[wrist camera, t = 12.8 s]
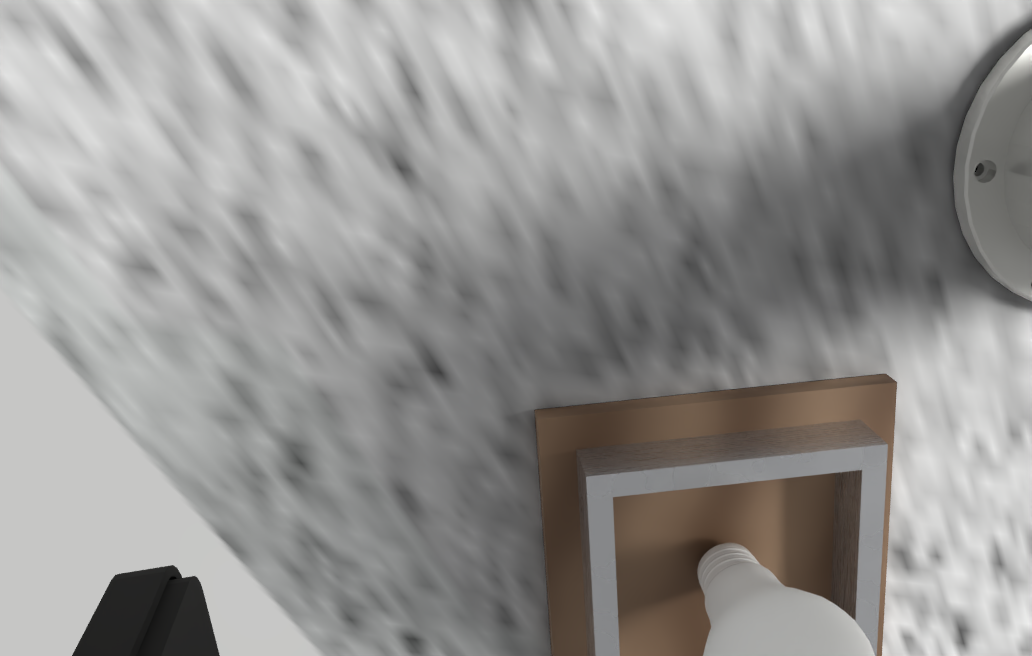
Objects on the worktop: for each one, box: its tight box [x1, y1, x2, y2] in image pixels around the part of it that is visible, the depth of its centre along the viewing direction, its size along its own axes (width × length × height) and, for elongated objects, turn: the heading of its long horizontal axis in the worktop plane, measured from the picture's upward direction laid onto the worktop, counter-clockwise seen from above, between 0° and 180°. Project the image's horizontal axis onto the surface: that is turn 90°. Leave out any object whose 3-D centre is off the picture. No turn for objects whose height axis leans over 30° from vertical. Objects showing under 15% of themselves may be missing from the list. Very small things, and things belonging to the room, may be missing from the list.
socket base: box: [535, 374, 897, 656], centre depth 42 cm, size 15×15×1 cm
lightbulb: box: [697, 543, 875, 656], centre depth 37 cm, size 6×6×11 cm
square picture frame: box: [576, 419, 888, 656], centre depth 41 cm, size 12×12×2 cm
